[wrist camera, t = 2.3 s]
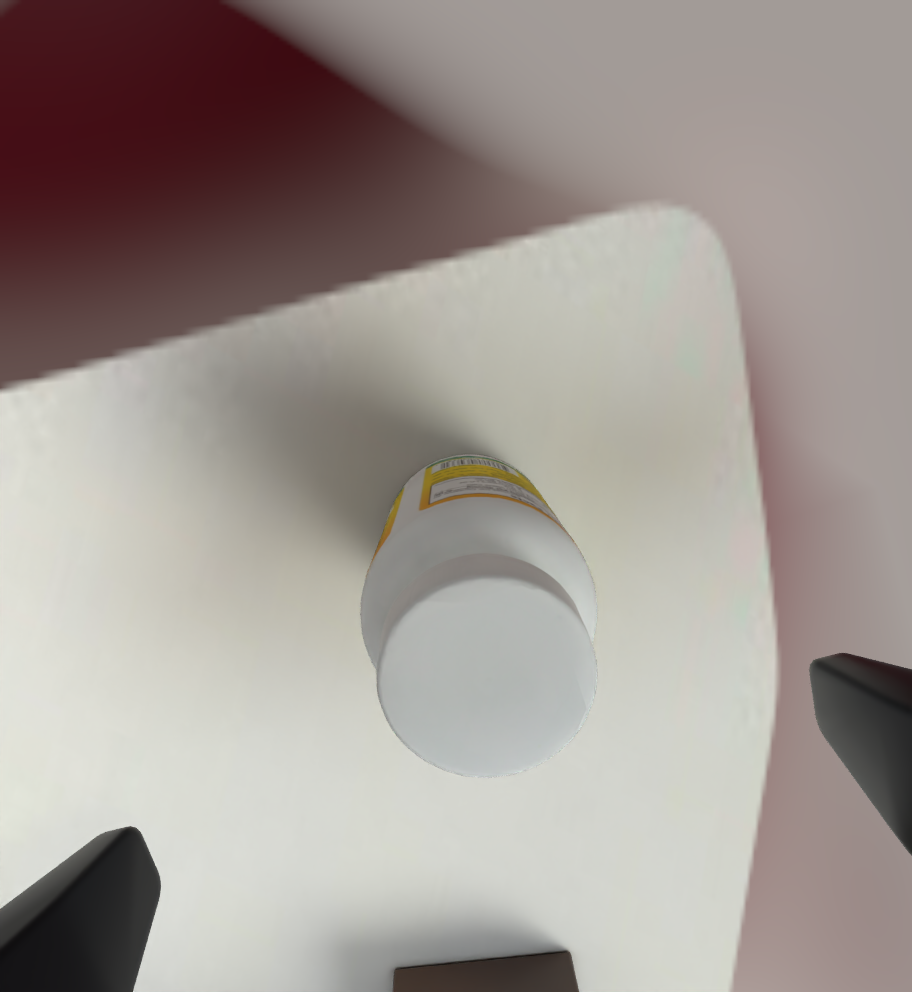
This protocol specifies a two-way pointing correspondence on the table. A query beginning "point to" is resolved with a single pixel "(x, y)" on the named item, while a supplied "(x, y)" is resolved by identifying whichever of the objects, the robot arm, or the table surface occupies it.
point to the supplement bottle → (480, 620)
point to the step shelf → (492, 976)
